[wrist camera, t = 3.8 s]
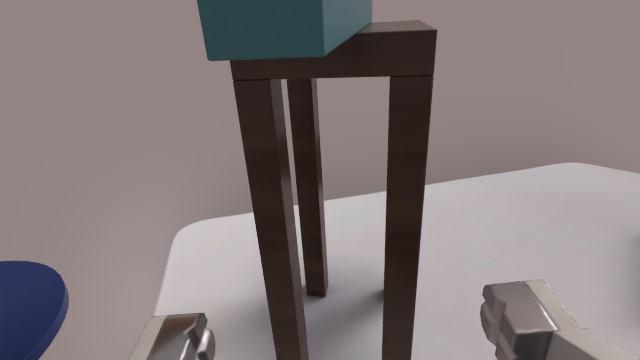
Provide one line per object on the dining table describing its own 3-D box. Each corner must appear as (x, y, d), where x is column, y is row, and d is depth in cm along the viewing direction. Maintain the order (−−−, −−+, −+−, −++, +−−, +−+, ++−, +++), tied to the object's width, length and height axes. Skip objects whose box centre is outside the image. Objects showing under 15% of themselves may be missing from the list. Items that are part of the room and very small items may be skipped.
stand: (407, 402, 27) (437, 28, 16) (280, 384, 29) (225, 39, 17) (403, 290, 37) (419, 20, 26) (310, 282, 39) (288, 27, 28)
